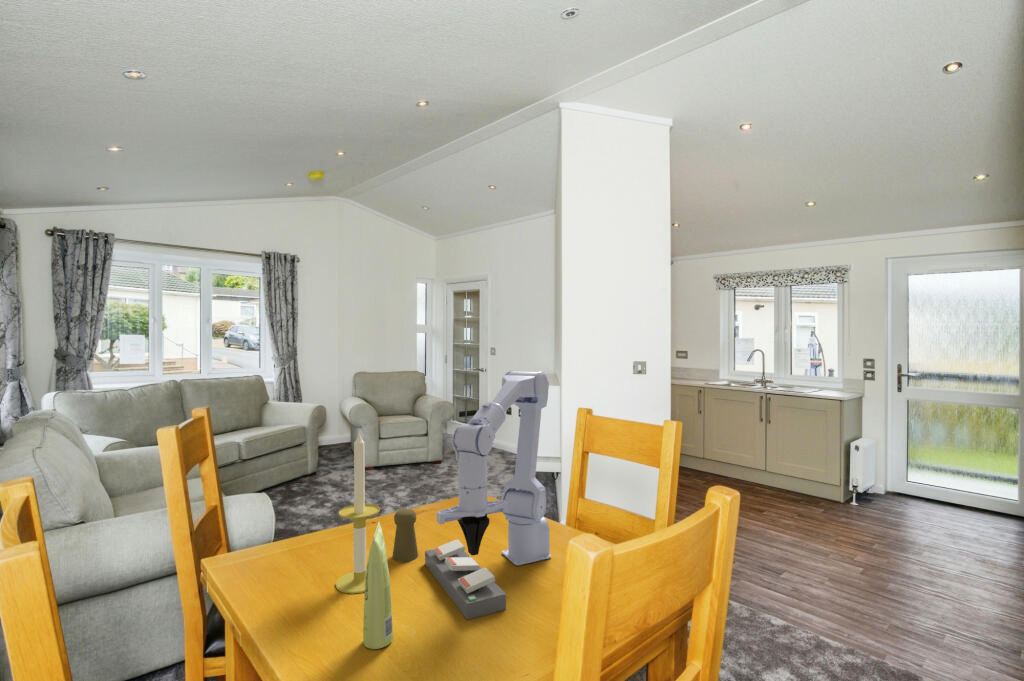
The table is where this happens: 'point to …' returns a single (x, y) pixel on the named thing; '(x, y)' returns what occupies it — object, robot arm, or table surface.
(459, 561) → the rocker
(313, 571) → the table surface
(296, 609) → the table surface
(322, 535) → the table surface
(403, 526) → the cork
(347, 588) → the candle
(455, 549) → the rocker
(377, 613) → the tube
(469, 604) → the strip
